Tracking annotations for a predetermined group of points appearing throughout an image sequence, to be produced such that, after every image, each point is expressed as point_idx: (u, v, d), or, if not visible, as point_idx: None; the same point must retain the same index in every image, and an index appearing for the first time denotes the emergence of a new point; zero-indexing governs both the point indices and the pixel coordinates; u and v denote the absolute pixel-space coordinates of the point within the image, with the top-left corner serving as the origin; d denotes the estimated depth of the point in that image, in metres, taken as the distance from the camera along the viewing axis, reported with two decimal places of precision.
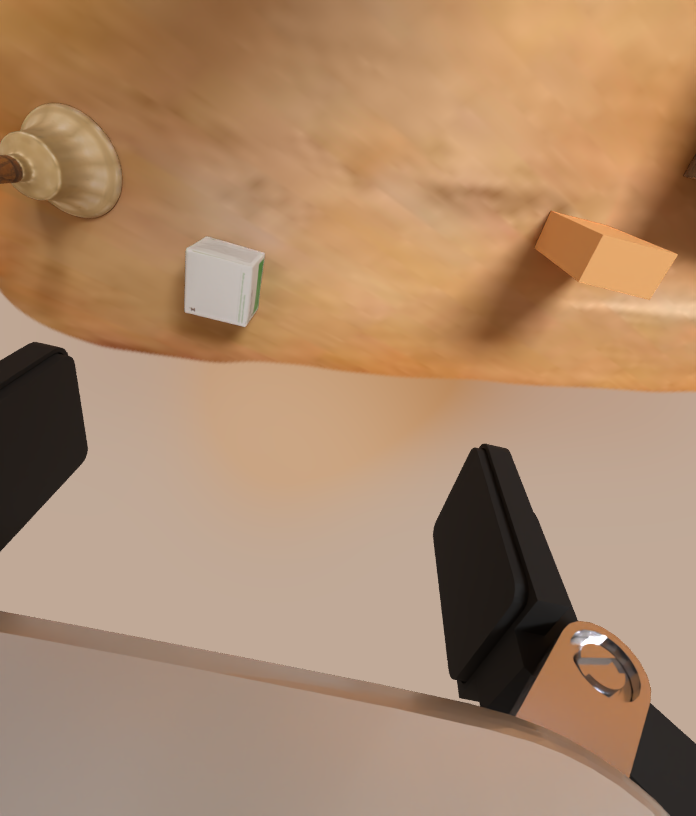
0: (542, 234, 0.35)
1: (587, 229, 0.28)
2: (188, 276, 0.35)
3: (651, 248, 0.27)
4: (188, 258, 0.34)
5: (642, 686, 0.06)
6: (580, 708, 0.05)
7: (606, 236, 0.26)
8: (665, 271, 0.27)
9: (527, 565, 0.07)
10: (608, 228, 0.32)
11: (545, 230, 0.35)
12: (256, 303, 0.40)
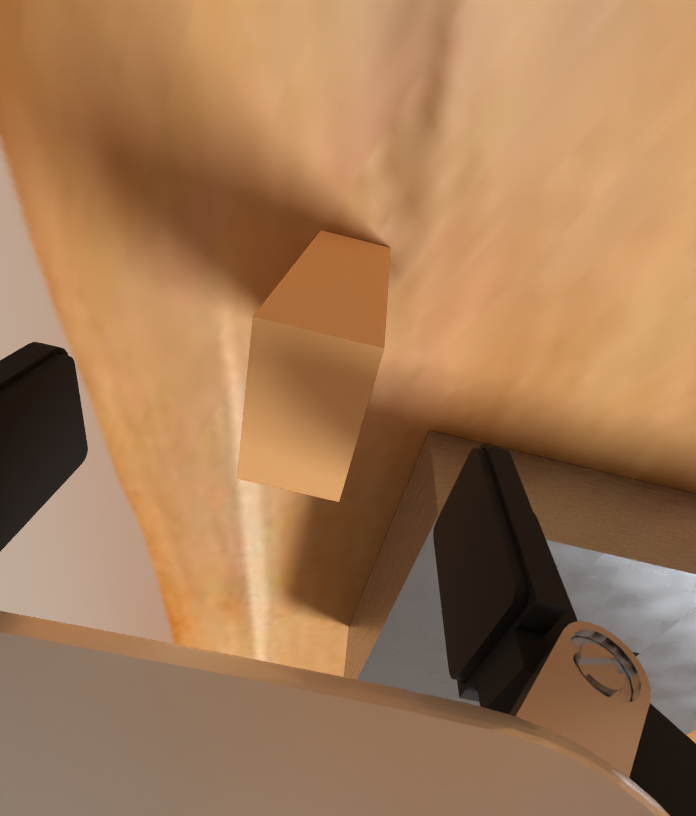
0: (348, 239, 0.18)
1: (383, 311, 0.11)
2: None
3: (350, 455, 0.11)
4: None
5: (641, 686, 0.06)
6: (580, 708, 0.05)
7: (379, 357, 0.10)
8: (301, 490, 0.12)
9: (527, 565, 0.07)
10: None
11: (356, 243, 0.17)
12: None
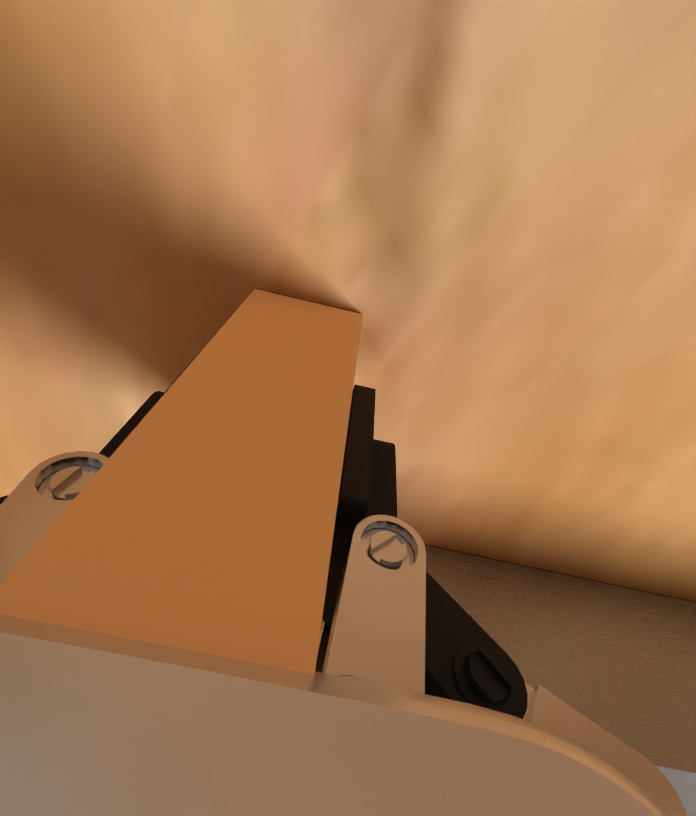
0: (296, 302, 0.11)
1: (326, 535, 0.05)
2: None
3: None
4: None
5: (418, 546, 0.07)
6: (380, 592, 0.06)
7: None
8: None
9: (347, 471, 0.08)
10: None
11: (308, 311, 0.11)
12: None
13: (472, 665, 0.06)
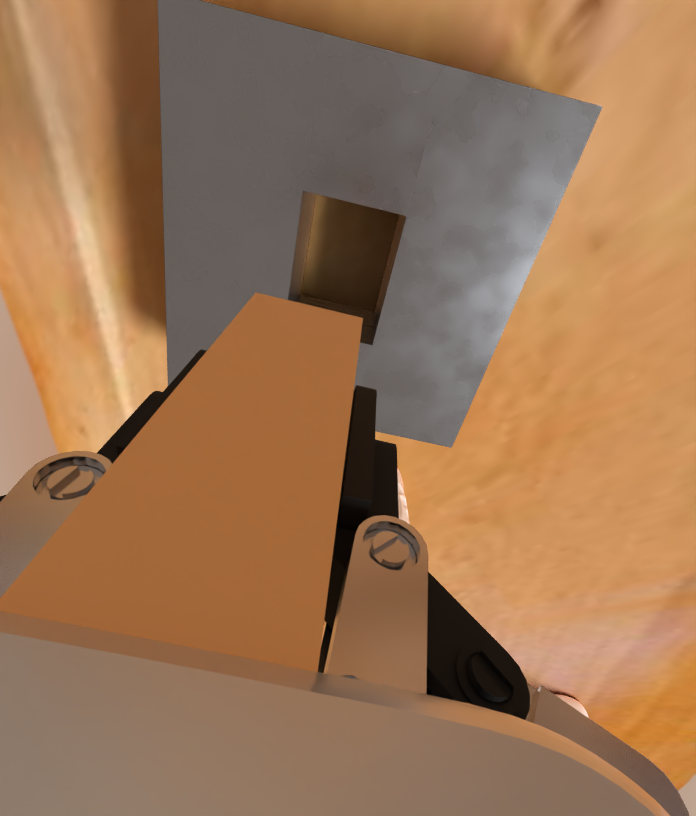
0: (297, 306, 0.11)
1: (328, 539, 0.05)
2: None
3: None
4: None
5: (420, 547, 0.07)
6: (382, 592, 0.06)
7: None
8: None
9: (348, 471, 0.08)
10: None
11: (308, 315, 0.11)
12: None
13: (474, 664, 0.06)
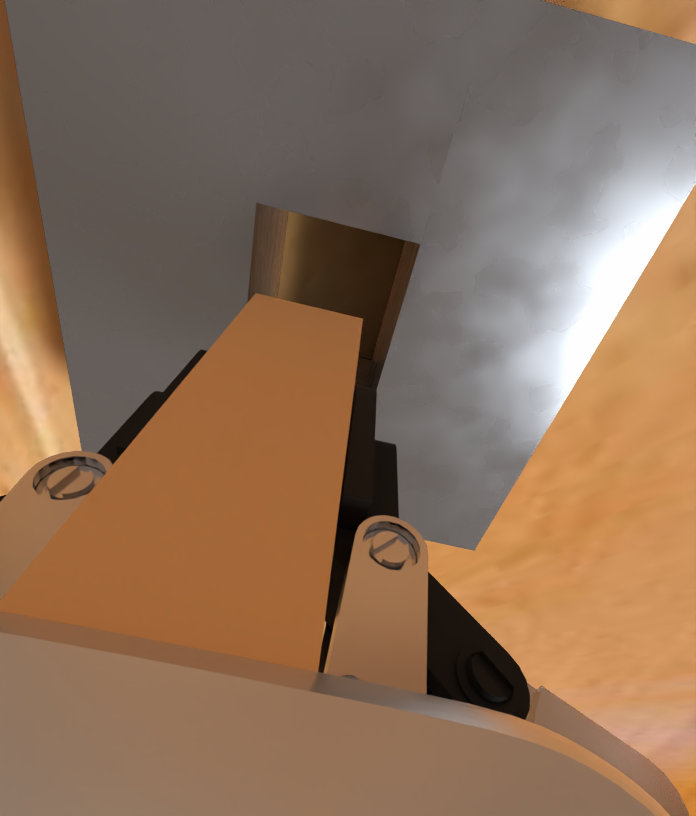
0: (297, 307, 0.11)
1: (327, 541, 0.05)
2: None
3: None
4: None
5: (420, 547, 0.07)
6: (382, 592, 0.06)
7: None
8: None
9: (349, 471, 0.08)
10: None
11: (308, 316, 0.11)
12: None
13: (474, 664, 0.06)
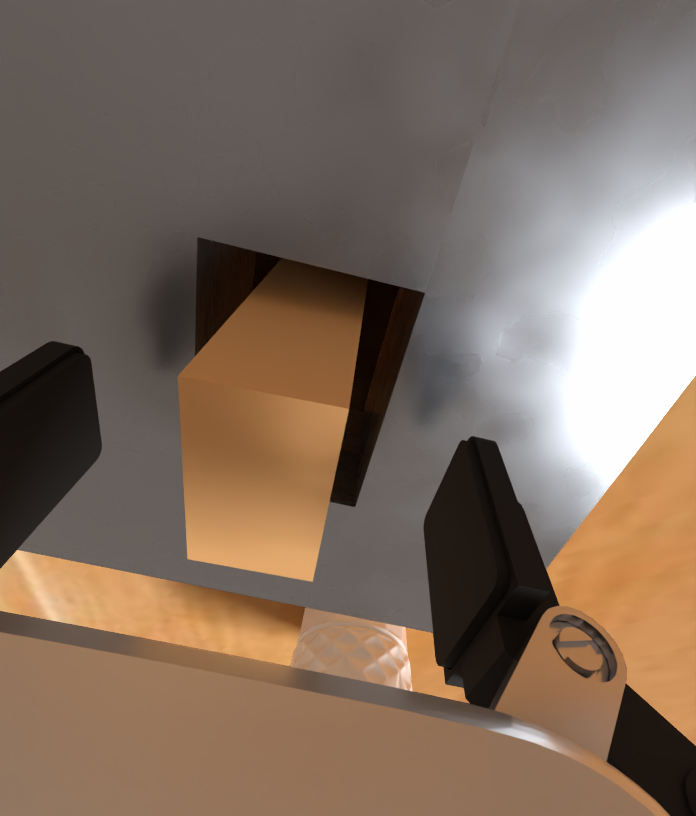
0: None
1: (353, 351, 0.09)
2: None
3: (320, 531, 0.09)
4: None
5: (618, 666, 0.06)
6: (560, 691, 0.05)
7: (344, 418, 0.08)
8: (266, 570, 0.10)
9: (509, 552, 0.07)
10: None
11: None
12: None
13: None
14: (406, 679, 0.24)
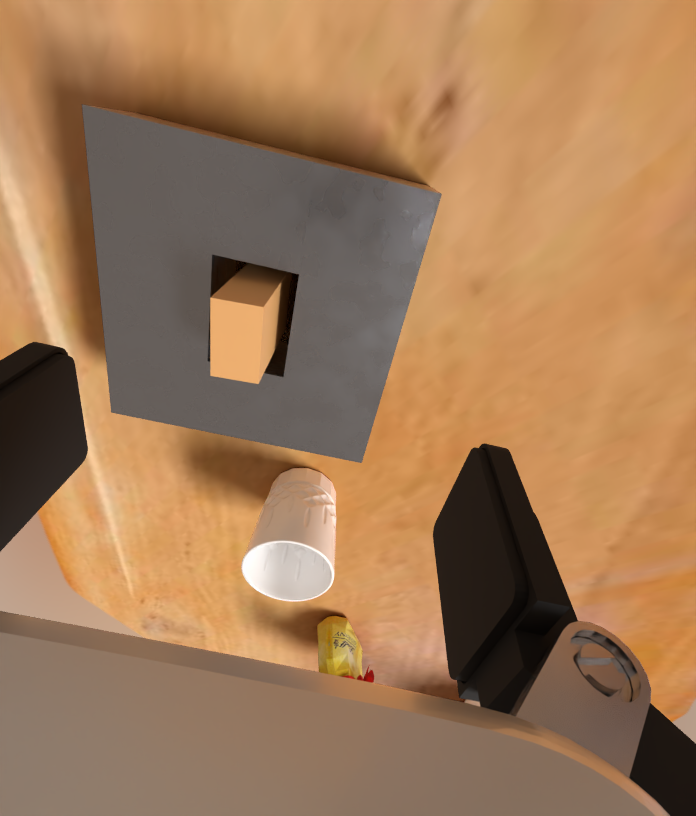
0: None
1: (270, 294, 0.26)
2: None
3: (259, 358, 0.26)
4: None
5: (641, 687, 0.06)
6: (580, 708, 0.05)
7: (262, 311, 0.24)
8: (240, 379, 0.26)
9: (527, 565, 0.07)
10: (280, 323, 0.32)
11: None
12: None
13: None
14: (330, 512, 0.40)
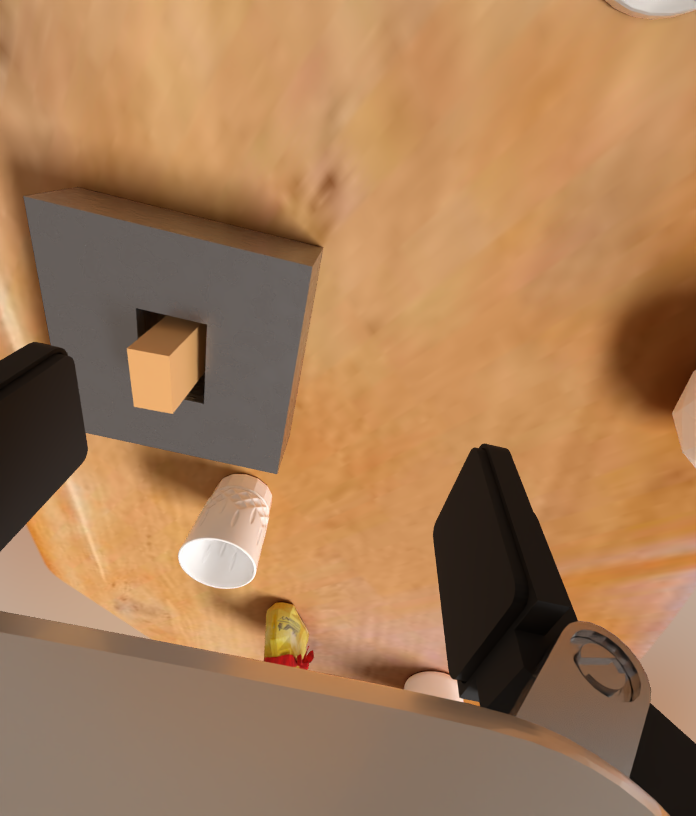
0: None
1: (181, 342, 0.32)
2: None
3: (170, 394, 0.32)
4: None
5: (641, 686, 0.06)
6: (580, 708, 0.05)
7: (169, 359, 0.30)
8: (158, 410, 0.33)
9: (527, 565, 0.07)
10: (204, 358, 0.38)
11: None
12: None
13: None
14: (261, 513, 0.46)
